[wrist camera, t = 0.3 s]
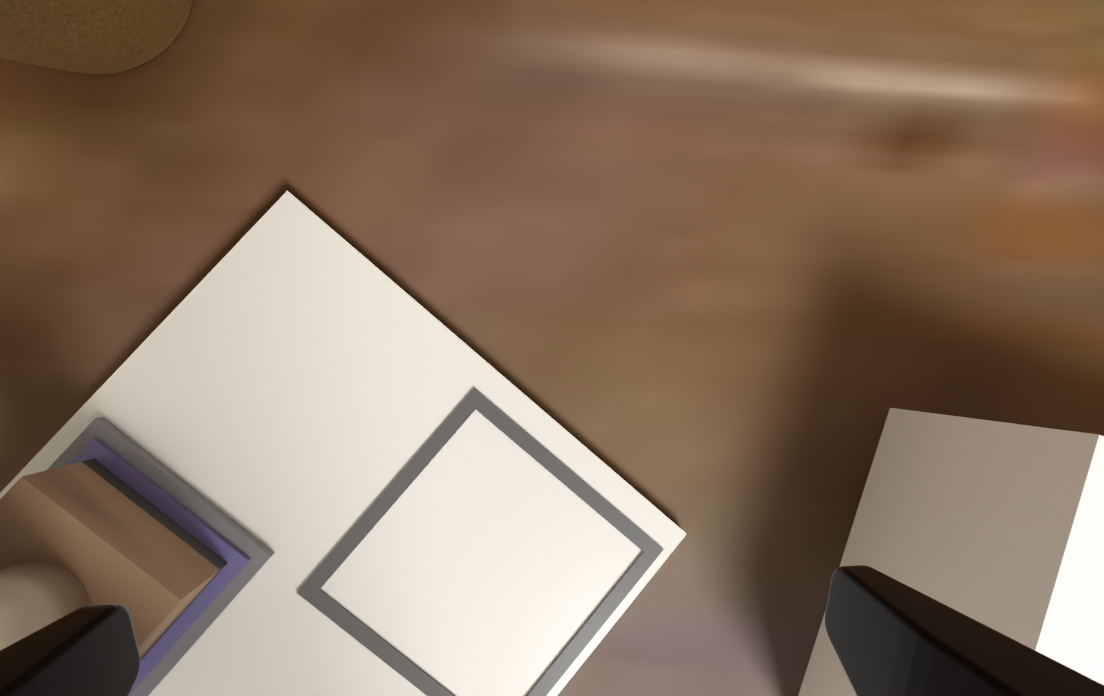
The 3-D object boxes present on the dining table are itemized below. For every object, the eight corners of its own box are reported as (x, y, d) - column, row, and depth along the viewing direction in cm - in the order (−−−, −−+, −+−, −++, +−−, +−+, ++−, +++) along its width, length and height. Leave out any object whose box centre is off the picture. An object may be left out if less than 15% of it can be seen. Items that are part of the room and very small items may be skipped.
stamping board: (344, 949, 21) (335, 985, 20) (-109, 618, 20) (-148, 635, 18) (681, 529, 23) (691, 538, 22) (292, 194, 21) (280, 185, 20)
